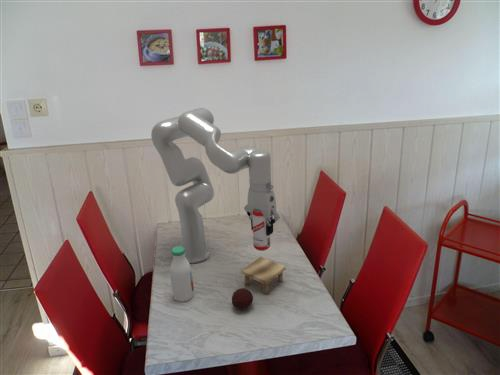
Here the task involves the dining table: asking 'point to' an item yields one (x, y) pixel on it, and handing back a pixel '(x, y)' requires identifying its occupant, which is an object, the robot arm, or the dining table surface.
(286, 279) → the dining table surface
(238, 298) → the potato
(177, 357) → the dining table surface
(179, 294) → the milk bottle
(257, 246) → the beer can
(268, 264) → the stool
